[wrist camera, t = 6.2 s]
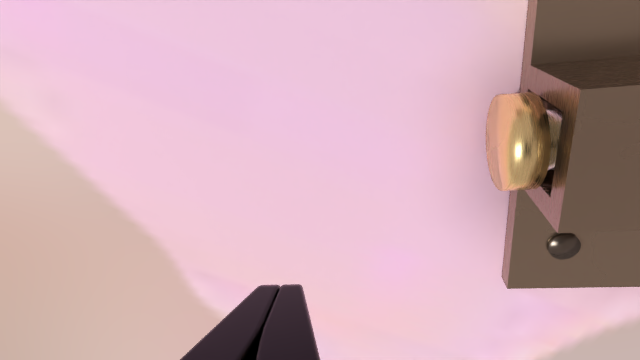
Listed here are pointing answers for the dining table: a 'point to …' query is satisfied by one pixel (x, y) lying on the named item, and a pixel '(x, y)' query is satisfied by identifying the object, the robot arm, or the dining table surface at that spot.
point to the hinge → (581, 149)
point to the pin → (521, 140)
